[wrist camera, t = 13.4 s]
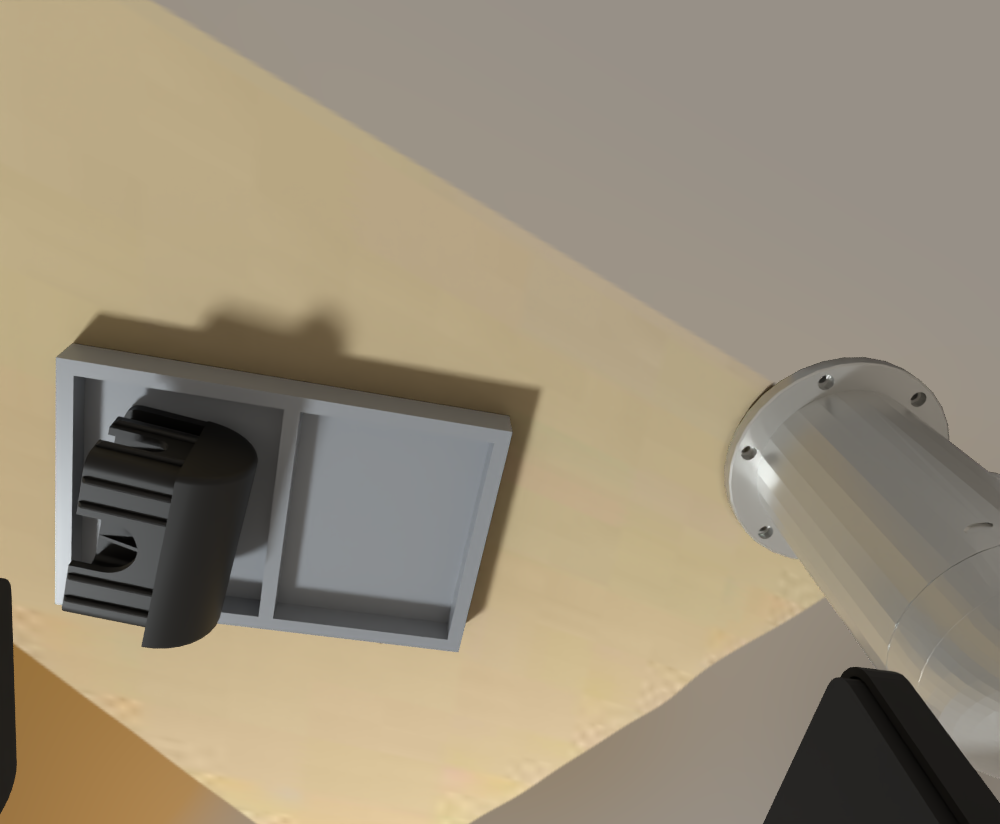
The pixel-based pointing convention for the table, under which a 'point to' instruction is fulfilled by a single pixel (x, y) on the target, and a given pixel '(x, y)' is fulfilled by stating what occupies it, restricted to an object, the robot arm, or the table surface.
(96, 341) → the table surface
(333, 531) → the divided grey tray
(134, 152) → the table surface
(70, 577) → the end cap
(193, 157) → the table surface
